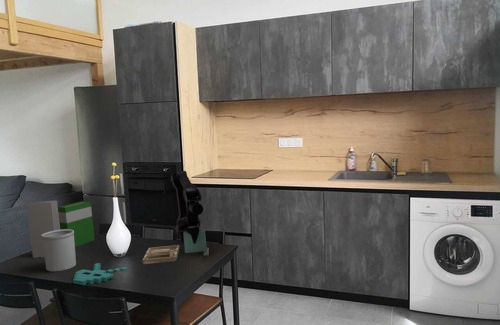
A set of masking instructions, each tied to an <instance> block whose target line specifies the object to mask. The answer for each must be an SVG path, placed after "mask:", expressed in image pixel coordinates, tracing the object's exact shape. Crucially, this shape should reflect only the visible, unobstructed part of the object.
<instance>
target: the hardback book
mask: <svg viewBox="0 0 500 325" xmlns="http://www.w3.org/2000/svg"><path fill="white" fill-rule="evenodd" d="M57 207H58V215H59V224H60V230H62V229H71V230H74V243H75V248H76V247H79V246H82V245H85V244H87V243H90V242H93V241H95V240H96V239H95V229H94V224H93V222H94V221H93V220H94V219H93V211H92V203H91V201H86V202H84V200H80V201H77V202H73V203H69V204H63V205H61V206H57Z"/></svg>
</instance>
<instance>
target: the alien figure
mask: <svg viewBox="0 0 500 325" xmlns="http://www.w3.org/2000/svg"><path fill="white" fill-rule="evenodd" d="M101 267H102V265H101V263H100V262H99V263H98V262H96V263H94V264H93V268H92V270H90V269H80V270H78V271H76V272H74V275H73V276H74V277H73V279H72V284H75V285H79V286H80V285H81V286H85V285H88V284H89V285H92V284H94V283H98V284H99V283H102V282H108V281H110V280H113V279H114V278H112V277H114V274H113V272H116V273H117V272H120V271H127V270H128V269H129V267H128V266H124V267H122V268H119V267H117V268H115V269H111V268H110V269H108V270H104V269H103V270H102V269H101ZM87 283H88V284H87Z"/></svg>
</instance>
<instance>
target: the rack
mask: <svg viewBox="0 0 500 325" xmlns="http://www.w3.org/2000/svg"><path fill="white" fill-rule="evenodd" d="M162 249H170V254H173V257H164V258H153V259H148V256H149V254H151V253H152V252H153V250H162ZM180 249H181V248H180V244H177V245H175V244H174V245H167V246H166V245H165V246H156V247H154V246H153V247H149V248H148V249H147V251H146V252H145V254H144V255H143V256H144V257H143V258H142V265H148V264H150V265H151V264H161V263H170V262H171V263H172V262H177V260H178V255H179V253H180Z"/></svg>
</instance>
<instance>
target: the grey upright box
mask: <svg viewBox="0 0 500 325" xmlns="http://www.w3.org/2000/svg"><path fill="white" fill-rule="evenodd" d="M58 207H59V206H58V200H42V201H41V200H40V201H32V202H30V203H26V212H27V219H28V220H27V221H28V228H29V236H30V243H31V244H30V245H31V253H32V258H33V259H38V257H41V258H45V256H44V248H43V240H42V237H41V235H42V234H44V233H47V232H50V231H55V230H60V224H59V215H58Z"/></svg>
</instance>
